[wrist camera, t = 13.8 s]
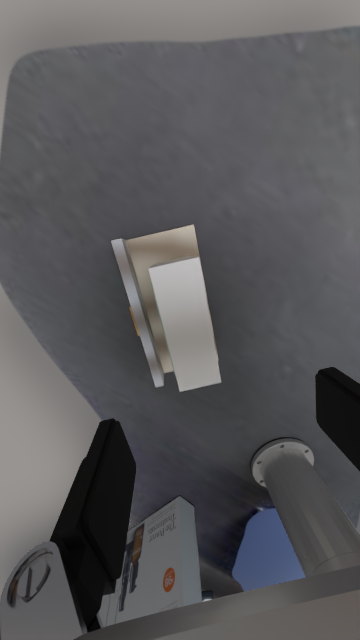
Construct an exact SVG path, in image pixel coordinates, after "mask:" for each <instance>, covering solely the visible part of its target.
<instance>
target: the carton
mask: <svg viewBox="0 0 360 640" xmlns="http://www.w3.org/2000/svg"><path fill="white" fill-rule="evenodd" d="M148 269H149V273H150V277H151V281H152V284H151V286H152V290H153V293H154V297H155V301H156V305H157V309H158V313H159V317H160V321H161V324H162V328H163V332H164V336H165V340H166V344H167V348H168V352H169V355H170V359H171V363H172V367H173V371H174V375H176V378H177V382H178V386H179V390H180V392H181V391H186V390H190V389H195V388H199V387H203V386H208V385H212V384H217V383H221V378H220V372H219V366H218V361H217V355H216V349H215V344H214V338H213V332H212V327H211V321H210V316H209V310H208V304H207V299H206V293H205V287H204V282H203V276H202V270H201V265H200V259H199V257H192V256H186V257H181V258H177V259H173V260H168V261H164V262H159V263H155V264H153V265H152V266H151V267H150V268H148Z"/></svg>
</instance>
